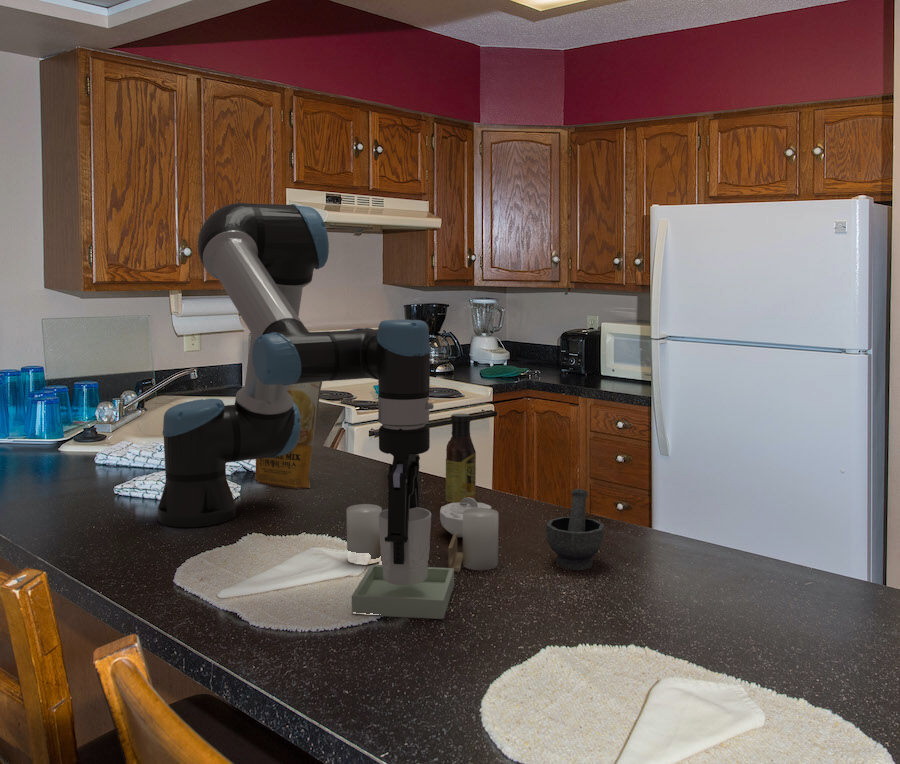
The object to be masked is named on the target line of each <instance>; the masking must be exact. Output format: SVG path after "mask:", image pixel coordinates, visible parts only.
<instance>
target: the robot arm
mask: <svg viewBox="0 0 900 764" xmlns="http://www.w3.org/2000/svg"><path fill="white" fill-rule="evenodd" d="M329 244H330V243H329V236H328V230H327V227H326V224H325V221H324V219H323V217H322V215H321V214H320V213H319V211H317V210H316V209H315V208H313V207H311V206H305V205H298V204H297V205H296V204H294V203H292V204H282V203H281V204H278V203H277V204H276V203H275V204H274V203H249V202H236V203H235V202H234V203H230V204H226V205H224V206H222V207H220V208H218V209H217V210H215V211H214V212H213V213H211V214H210V215H209V216H208V218H207V219H206V220H205V221H204V223H203V224H202V226H201V228H200V230H199V234H198V237H197V252H198V256H199V259H200V262H201V264H202V265H203V267H204V269H205V270H206V272H207V273H208V274H209V275H210V276H211V277H213V278H214V279H216V280H218V281H219V282H220V284H221V285H222V287H223V289H224V290H225V292H226V294H227V296H228V297H229V298H230V300H231V302H232V303H233V304H232V305H234V307H235V309H236V310H237V311H238V315H240V317H241V319H242V320H243V322H244V324H245V326H246V327H247V328H248V330H249V331H250V333H251V334H250V339H249V347H248V348H249V349H248V356H247V365H246V374H245V380H244V381H245V382H244V386H243V387H241V388H239V390H238V391H237V392H236V393H235V394H236V395H235V400H234V404H228V405H226V404H225V403H224V402H223V400H222V399H219V398H207V399H203V398H201V399H195V400H189V401H185V402H182V403H178V404H176V405H175V404H174V405H173V406H171V407H169V408H168V409H166V411H165V413H164V414H163V424H162V427H163V428H162V429H163V430H162V436H163V450H164V451H163V452H164V453H163V454H164V472H165V482H164V486H163V489H162V493H161V497H160V499H159V500H160V501H159V503H158V507H157V521H158V522H159V524H162V525H164V526H169V527H175V528H199V527H207V526H208V527H209V526H214V525H215V526H216V525H218V524H223V523H225V522H228V521H230V520H232V519H234V518H235V517H236V515H237V505H236V501H235V498H234V496H233V493H232V491H231V488H230V486H229V482H228V480H227V474H226V473H227V472H226V465H227V463H234V462H241V461H250V460H256V459H259V458H274V457H276V456H281V455H286V454H288V453H290V452H291V451H292V450H293V449H294V448H295V446H296V444H297V442H298V440H299V436H300V431H301V423H300V419H301V417H300V412H299V409H298V407H297V405H296V404H295V403H294V402H293V398H292V396H291V395H290V394H289V393H288V392H287V391H288V385H292V384H300V383H311V382H322V383H323V382H334V381H335V382H336V381H347V380H361V379H373V380H377V382H378V398H377V401H378V403H377V405H378V411H377V413H378V417H377V421H378V423H379V424H380V426H379V428H378V448H379V451H380V452H382V453H383V454H387V455H392V457H393V459H392V464H389V468H388V473H387V475H386V477H387V482H388V492H387V493H388V494H387V495H388V500H387V509H388V535H387V537H385V542H390V577H391V584H404V585H409V583H410V550H409V540H408V521H409V509H412V508H416V507H418V508H421V497H420V496H421V494H420V459H421V457H420V455H421V454H424V453H426V452H428V451H429V450H430V445H431V444H430V441H431V440H430V430H431V429H430V427H429V426H428V425H427V424H428V423H429V422H430V410H433V409H434V404H433V402H429V400H430V388H431V387H430V384H431V383H430V381H431V380H430V377H431V376H430V375H431V371H430V370H431V369H430V368H431V344H430V332H429V331H430V330H429V329H430V328H429V326H428V323H426V321H424V320H420V319H386V320H385V319H384V320H382V321H380V322H379V324H378V328H377V329H373V328H370V327H365V328H363V327H358V328H352V329H350V330H337V331H336V330H334V331H309V330H308V328H307V327H306V326H305V325H304V323H303V321H301V320H302V319H300V317H299V315H300V314H299V313H300V308H301V302H302V295H303V288H304V287H307V286H308V285H309V284H311V283H312V281H313V277H314V271H315V270H320V269H321V268H324V266H326V263H327V262H328V259H329V253H330V245H329Z"/></svg>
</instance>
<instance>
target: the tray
mask: <svg viewBox="0 0 900 764" xmlns="http://www.w3.org/2000/svg"><path fill="white" fill-rule="evenodd" d="M454 587H455V571H454V568H448V567H435V566H434V567H433V566H432V567H431V566H430V567H429V566H428V574H427V579H426V580H425V581H423V582H421V583H418V584H414V585H395V584H391V583H388V582H386V581H385V580H384V579H383V565H378V564H373V565H369V568H368V569H367V570H366V572H365V574H364V576H363V577H362V579H361V580H360V582H359V584H357V586H356V588H355V590H354V592H353V593H352V595H351V613H352V612H356V613H366V614H370V613H373V614H379V615H380V614H381V615H380V616H379V617H393V618H394V617H395V618H411V619H412V618H416V619H436V620H444V619H445V616H446V614H447V613H446V612H447V609H448V607H449V603H450V600H451V597H452V593H453V590H454Z"/></svg>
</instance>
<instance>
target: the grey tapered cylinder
mask: <svg viewBox="0 0 900 764" xmlns="http://www.w3.org/2000/svg"><path fill="white" fill-rule="evenodd" d="M381 511H383V509H382V507H381V506H379V505H378V504H371V503H359V504H354V505H350V506H348V507H347V508H346V551H347V550H348V551H351V552H356V553H369V554H370V555H371V559H376V558H379V557H380V556H381V546H380V532H379V513H380V512H381Z"/></svg>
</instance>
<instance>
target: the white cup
mask: <svg viewBox="0 0 900 764" xmlns="http://www.w3.org/2000/svg"><path fill="white" fill-rule="evenodd" d="M431 521H432V512H431V511H430V510H428V509H426V508H422V507H420V508H418V507H416V508H412V509H409V521H408V540H409V550H410V583H409V585H414V584H418V583H421V582H423V581H425V580H426V579H427V574H428V567H429V559H430V550H431V549H430V548H431V547H430V546H431V526H432V522H431ZM379 532H380V546H381V561H382V565H383V579H384V580H385V581H386V582H388V583H391V577H390V542H385V537H387V535H388V508H386V509H382V511H381V512H380V513H379ZM395 585H404V584H395Z"/></svg>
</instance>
